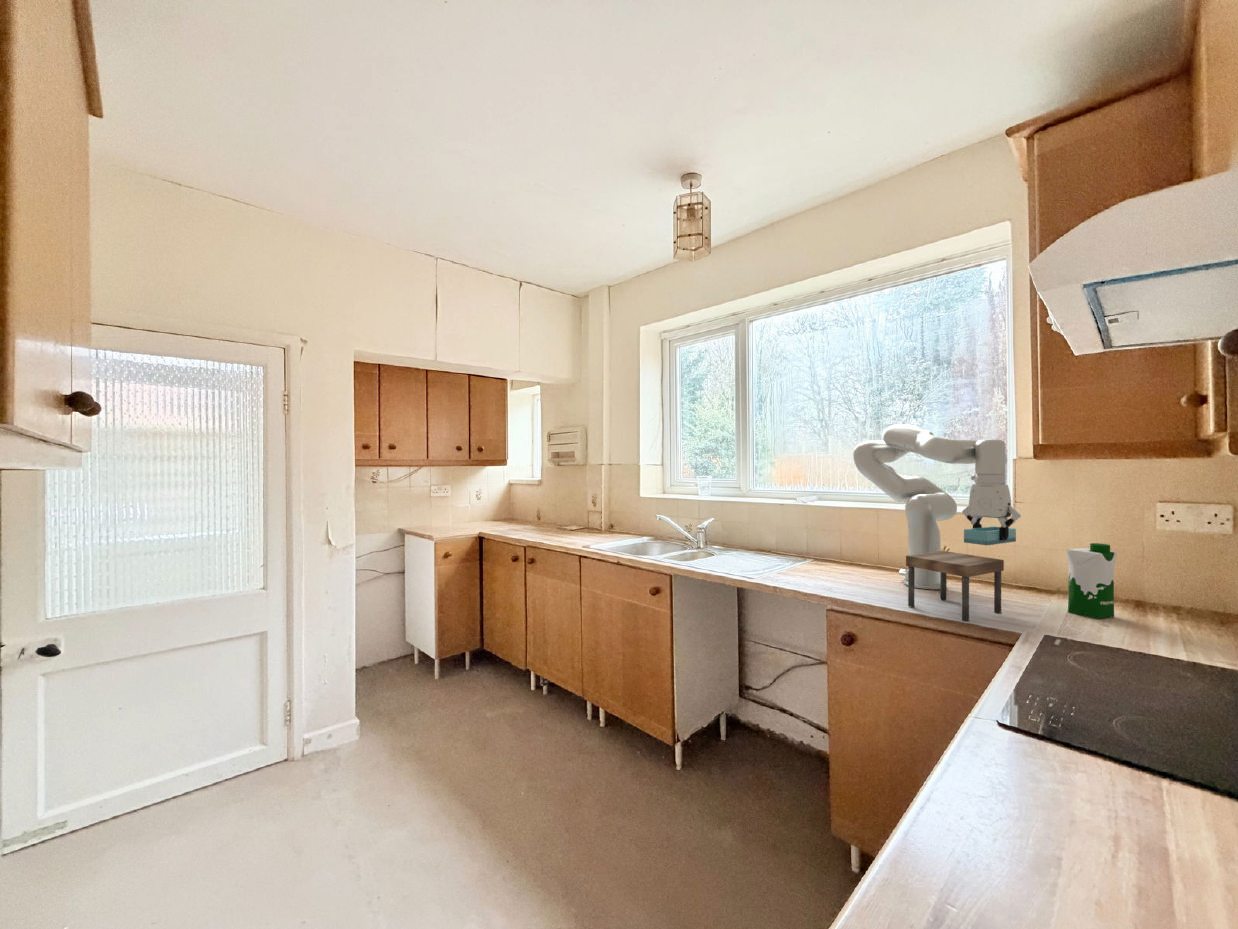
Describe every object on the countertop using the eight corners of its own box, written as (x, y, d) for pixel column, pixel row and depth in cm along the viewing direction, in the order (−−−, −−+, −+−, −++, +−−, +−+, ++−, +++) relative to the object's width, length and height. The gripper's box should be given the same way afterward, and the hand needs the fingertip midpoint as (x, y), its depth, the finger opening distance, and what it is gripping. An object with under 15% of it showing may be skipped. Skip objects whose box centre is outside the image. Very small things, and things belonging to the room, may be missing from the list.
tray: (963, 542, 155) (963, 529, 155) (992, 538, 162) (992, 526, 162) (987, 545, 149) (987, 531, 149) (1015, 541, 157) (1015, 528, 157)
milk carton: (1099, 620, 137) (1100, 546, 137) (1061, 611, 145) (1061, 541, 145) (1120, 617, 140) (1120, 544, 139) (1081, 608, 148) (1082, 540, 148)
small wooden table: (905, 606, 151) (906, 555, 151) (942, 598, 159) (942, 550, 159) (967, 622, 136) (967, 566, 136) (1003, 613, 144) (1003, 560, 144)
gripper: (953, 479, 162) (953, 536, 162) (1016, 481, 146) (1016, 543, 146) (967, 479, 165) (967, 534, 165) (1029, 480, 150) (1029, 541, 150)
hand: (990, 538), depth 156 cm, fingers closed on tray, 6 cm apart
